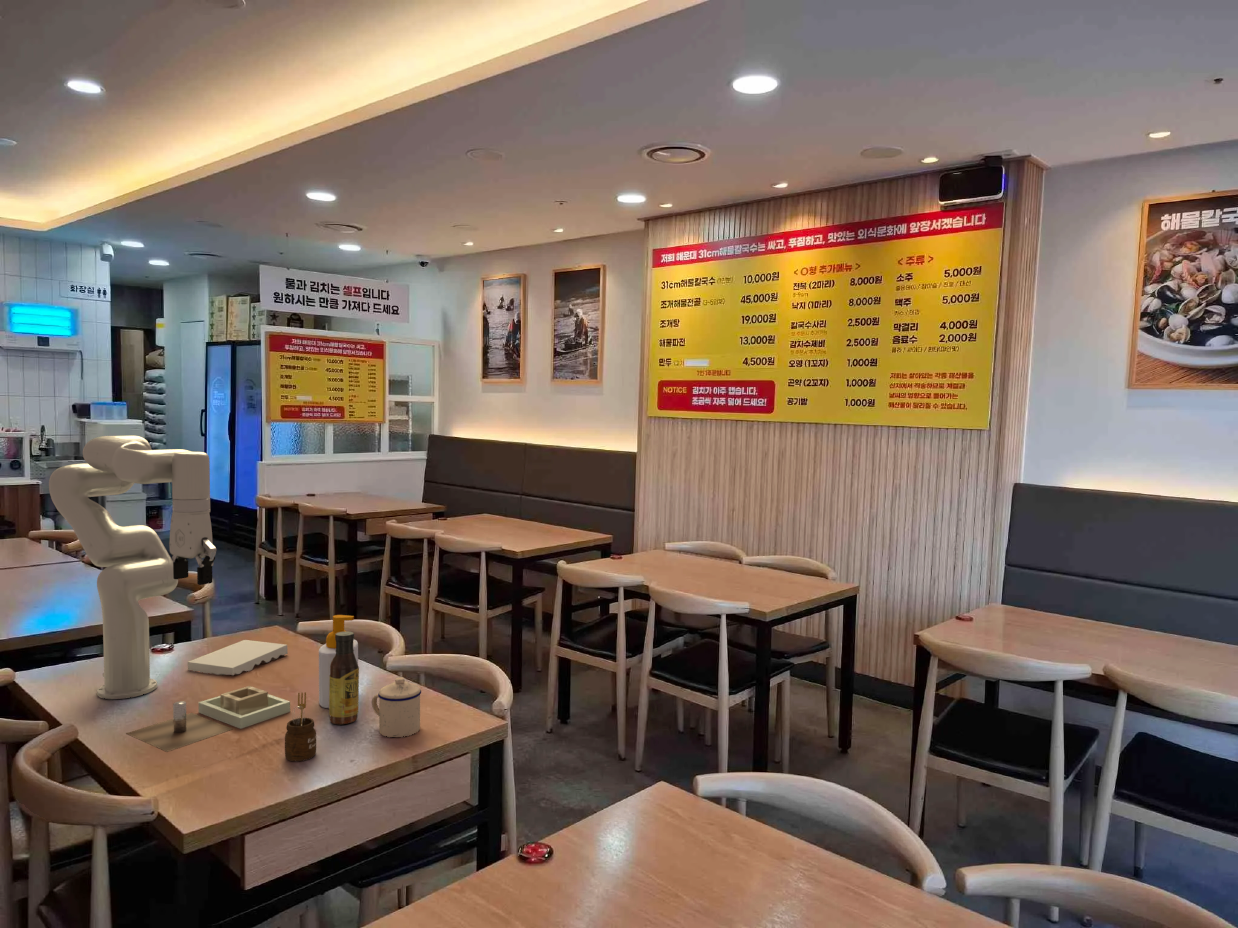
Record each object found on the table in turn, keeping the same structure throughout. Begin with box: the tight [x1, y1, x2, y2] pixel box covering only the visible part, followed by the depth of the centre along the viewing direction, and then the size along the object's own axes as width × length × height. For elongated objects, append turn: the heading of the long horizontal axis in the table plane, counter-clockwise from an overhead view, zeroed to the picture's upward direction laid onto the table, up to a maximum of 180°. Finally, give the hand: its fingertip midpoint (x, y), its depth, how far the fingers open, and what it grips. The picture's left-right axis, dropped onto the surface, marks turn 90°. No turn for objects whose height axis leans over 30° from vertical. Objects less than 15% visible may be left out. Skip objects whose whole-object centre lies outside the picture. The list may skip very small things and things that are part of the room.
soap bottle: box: [318, 614, 359, 709], centre depth 193 cm, size 13×8×20 cm, turn 178°
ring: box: [219, 685, 269, 715], centre depth 181 cm, size 7×7×5 cm
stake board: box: [125, 712, 234, 753], centre depth 170 cm, size 16×14×2 cm
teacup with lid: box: [371, 677, 422, 738], centre depth 176 cm, size 12×9×12 cm
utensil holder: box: [284, 692, 317, 762], centre depth 162 cm, size 6×6×12 cm
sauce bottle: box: [328, 630, 360, 725], centre depth 180 cm, size 7×6×20 cm
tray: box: [197, 693, 291, 730], centre depth 181 cm, size 16×12×4 cm
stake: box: [172, 700, 187, 733], centre depth 169 cm, size 2×2×6 cm
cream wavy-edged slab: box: [187, 639, 288, 676], centre depth 220 cm, size 15×3×20 cm
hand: (192, 581), depth 183 cm, fingers open, 9 cm apart
